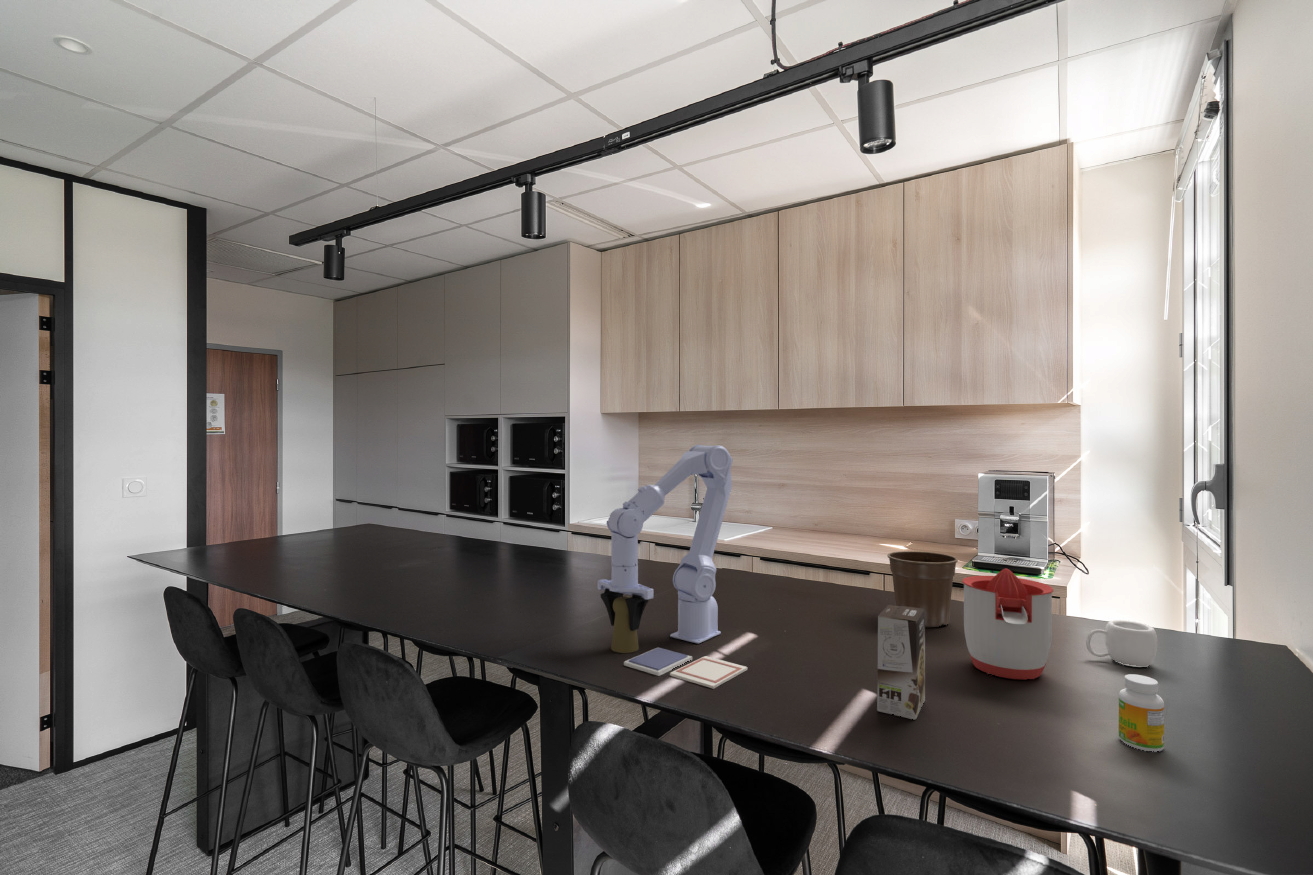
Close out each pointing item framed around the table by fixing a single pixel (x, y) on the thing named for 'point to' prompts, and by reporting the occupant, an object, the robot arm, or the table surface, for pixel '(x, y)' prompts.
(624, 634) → the cork
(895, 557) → the plant pot
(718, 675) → the marked board
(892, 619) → the coffee box
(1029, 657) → the citrus juicer
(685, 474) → the robot arm
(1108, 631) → the mug
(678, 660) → the ink pad
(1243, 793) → the table surface
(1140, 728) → the supplement bottle
